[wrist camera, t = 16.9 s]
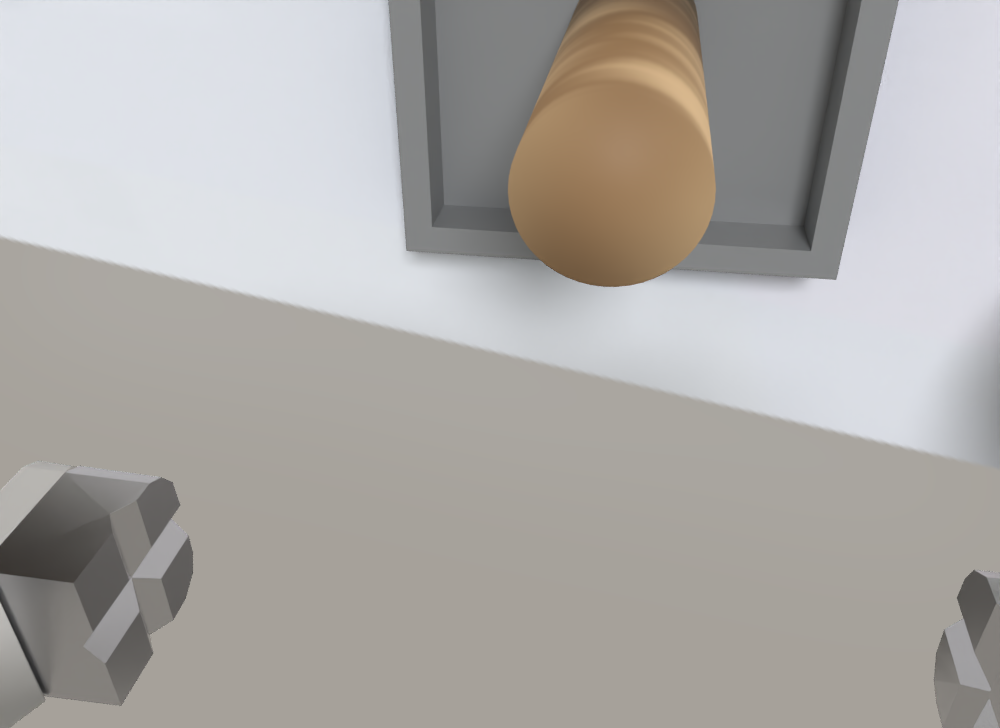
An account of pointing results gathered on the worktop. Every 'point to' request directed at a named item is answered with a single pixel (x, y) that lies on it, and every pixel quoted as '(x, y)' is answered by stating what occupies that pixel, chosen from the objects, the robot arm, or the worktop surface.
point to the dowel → (618, 146)
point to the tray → (731, 110)
